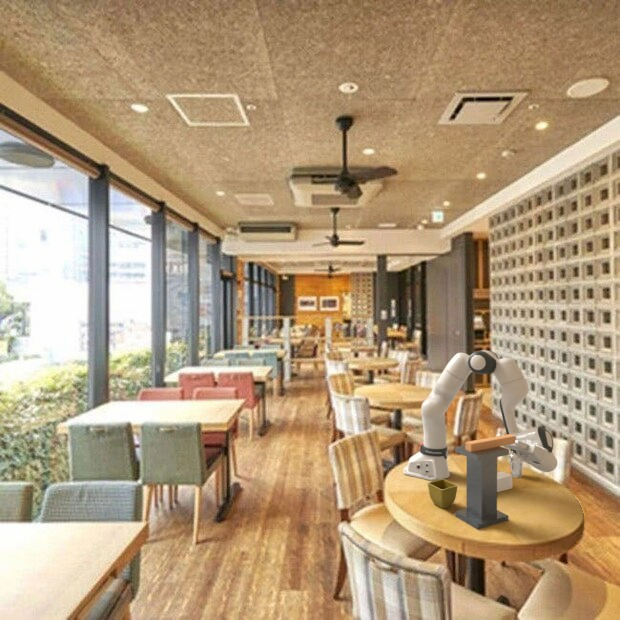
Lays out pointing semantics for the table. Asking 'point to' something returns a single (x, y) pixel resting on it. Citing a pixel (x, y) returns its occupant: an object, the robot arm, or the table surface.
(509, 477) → the milk
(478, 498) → the pedestal
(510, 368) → the robot arm
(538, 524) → the table surface
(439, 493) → the flower pot
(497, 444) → the orange-brown square bar
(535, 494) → the table surface
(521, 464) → the cup with straw
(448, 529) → the table surface
